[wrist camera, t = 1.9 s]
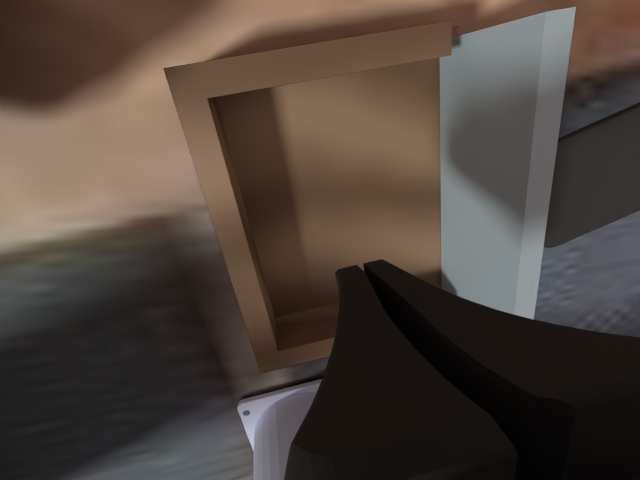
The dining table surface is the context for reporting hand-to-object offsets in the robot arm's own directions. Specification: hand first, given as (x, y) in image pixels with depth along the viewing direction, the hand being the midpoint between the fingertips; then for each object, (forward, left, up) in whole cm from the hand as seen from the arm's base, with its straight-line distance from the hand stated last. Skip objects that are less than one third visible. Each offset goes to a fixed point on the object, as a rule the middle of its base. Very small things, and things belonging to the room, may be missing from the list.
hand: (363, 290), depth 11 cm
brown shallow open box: (0, -1, -9) cm, 10 cm away
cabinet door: (0, -8, -8) cm, 12 cm away
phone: (-2, -21, -10) cm, 23 cm away
